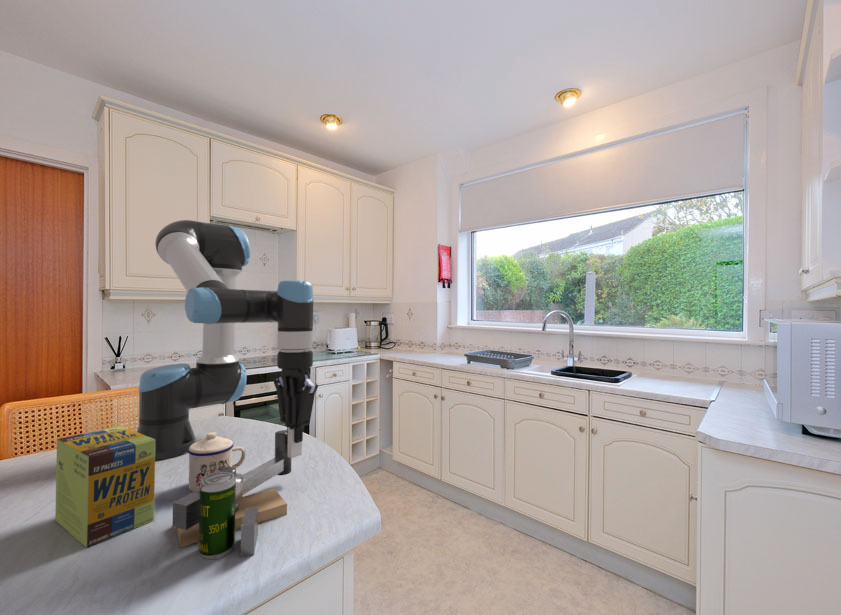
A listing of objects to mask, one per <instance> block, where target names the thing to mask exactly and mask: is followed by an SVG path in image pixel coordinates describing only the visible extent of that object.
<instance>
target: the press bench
mask: <svg viewBox="0 0 841 615" xmlns="http://www.w3.org/2000/svg"><path fill="white" fill-rule="evenodd" d="M250 507H258V524H259V523H262V522H266V521H269V520H272V519H275V518H279V517H281V516H284V515H287V514H288V503H287V502H286V501H285V499H284V498H283V497H282V495H281V494H279V492H278V490H276V488H270V489H266V490H263V491H259V492H256V493H251V494H249V495H243V496H242V500H241V501H240V502H239V510H238V511H237V512H236V513H235V531H236V530H239V529H240V530H241V525H242V522H243V518H244V514H245V511H246V508H250ZM174 528H175V532H176V536H177V540H178V543H179V547H180V548H182V547H186V546H189V545H193V544H195V543H199V523H197V524H196V525H194V526H192V527H191V528H189V529H187V530H183V529H179V528H176V527H174Z"/></svg>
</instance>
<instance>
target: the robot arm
mask: <svg viewBox="0 0 841 615" xmlns="http://www.w3.org/2000/svg"><path fill="white" fill-rule="evenodd" d="M154 245H155V250H156V253H157V254H158V256H159V258H160V259H161V260H162V261H163V262H164V263H166V264H168V265H170V267H171V269H172V270H173V272H174V273H175V275H176V276H177V278H178V280H179V281H180V283H181V284H182V286H183V287H184V290H186V292H187V293H186V295H185V298H184V310H185V316H186V318H187V320H188V321H189V322H191V323H193V324H202V326H203V327H202V354H201V356H200V357H198V358H197V360H196V364H195V367H191V366H190V364H188V363H175V364H173V363H172V364H166V365H165V364H164V365H160V366H157V367H156V366H155V367H152V368H150V369H146V370H145V371H144V372H142V374H141V375H140V377H139V387H138V392H139V393H138V394H139V396H138V398H139V399H138V402H139V403H138V427H137V430H136V432H138V433H140V434H143V435H145V436H147V437H150V438H153V439H155V461H157V460H164V459H169V458H175V457H178V456H181V455H182V456H183V455H185V454H186V453H188V450H189V447H190V446H191V445H192V444H194V443H196V436H195V433H194V430H193V428H192V424H191V422H190V416H189V415H190V410H191V409H196V408H197V409H198V408H203V407H210V406H215V405H217V406H218V405H225V404H228V403H233V402H235V401H238V400H239V399H240V398H241V397H242V395H244V392H245V389H246V386H247V378H248V377H247V373H246V372H247V370H246V367H245V366H244V364H242V363H240V358H238V356H237V355H236V354H235V337H236V336H235V331H236V330H235V329H236V324H239V323H240V324H243V323H244V324H245V323H246V324H247V323H248V324H249V323H252V324H253V323H277V337H276V338H277V339H276V341H277V342H276V344H277V346H276V348H277V349H278V350H279V351H278V352H277V357H276V358H277V361H276V363H277V368H278V369H280V370H281V372H280V377H279V378H275V379H273V384H274V387H275V390H276V396H277V403H278V404H277V405H278V412H279V413H278V414H279V419H280V422H281V423H284V424H285V426H286V430H287V440H288V457H289V458H291V459H294V458H297V457H299V456H302V453H303V450H302V448H303V446H302V445H303V440H304V437H303V433H304V431H303V430H304V429H303V428H304V427H305V426H308V425H310V424H311V417H312V414H313V413H312V412H313V406H314V401H315V397H316V396H315V394H316V392H317V390H318V388H319V385H318V383H313V381H312V380H311V374H310V368H312V367H313V365H314V363H313V361H314V358H313V356H314V354H313V353H314V352H313V351H312V349H313V346H314V345H313V344H314V343H313V342H314V340H313V338H314V337H313V336H314V335H313V332H314V331H313V330H314V301H315V297H314V289H313V288H314V287H313V284H312V282H310V281H306V280H292V279H291V280H288V279H287V280H281V281H279V282H278V286H277V290H259V289H237V277H238V275H240V274H241V273H242V272H243V267H245V266H247V265H248V264H249V261H250V258H251V245H250V240H249V238H248V236H247V234H246V232H245V231H244V230H242V229H241V228H238V227H235V226H234V227H233V226H230V225H224V224H216V223H212V222H211V223H210V222H202V221H197V220H190V219H185V220H182V219H181V220H176V221H174V222H171V223H169V224H167V225H165V226H164V227H163V228H162V229H161V230H160V231H159V232H158V234H157V235H156V238H155V242H154Z"/></svg>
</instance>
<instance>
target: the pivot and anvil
mask: <svg viewBox="0 0 841 615" xmlns="http://www.w3.org/2000/svg"><path fill="white" fill-rule="evenodd" d="M221 472H228V473H232V474H234V477H235V476H236V473H237V468H234V467H227V468H223V469H221V470H220V473H221ZM238 510H239V503H237V504H235V513H236V512H237V511H238ZM258 536H259V523H258V507H250V508H246V511H245V514H244V518H243V522H242V525H241V528H240V558H242V557H248V556H249V557H250V556H254V555H255V551H256V546H257V541H258Z"/></svg>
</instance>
